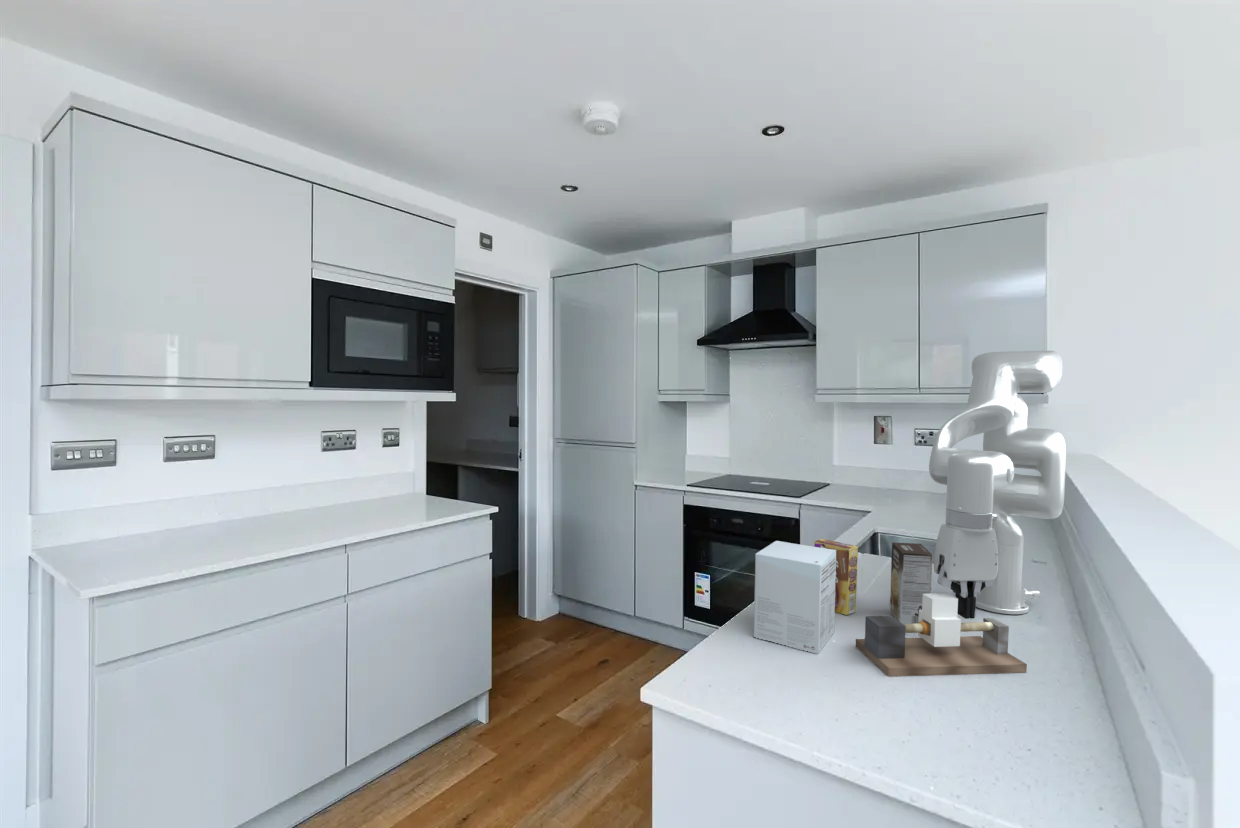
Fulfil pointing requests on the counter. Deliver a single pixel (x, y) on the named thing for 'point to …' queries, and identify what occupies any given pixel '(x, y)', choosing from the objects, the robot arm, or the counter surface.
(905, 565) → the coffee box
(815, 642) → the supplement box
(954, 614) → the stepped white block
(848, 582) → the candy box
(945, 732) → the counter surface
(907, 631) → the wooden board rod assembly
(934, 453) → the robot arm
